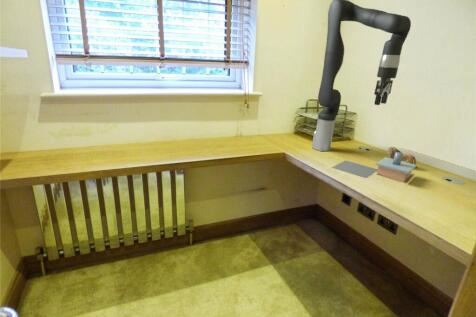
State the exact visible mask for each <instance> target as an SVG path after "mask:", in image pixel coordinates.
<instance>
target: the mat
mask: <svg viewBox="0 0 476 317" xmlns="http://www.w3.org/2000/svg"><path fill="white" fill-rule="evenodd" d="M331 168H332V169H335V170H337V171H340V172H345V173H348V174H351V175H354V176H357V177H361V178H363V179H367V178H369V177H370V176H372V175H374V174H375V173H377V171H378V168H375V167H371V166H368V165H363V164H360V163H357V162H354V161H350V160H343V161H342V162H340V163H338V164H336V165H334V166H332V167H331Z"/></svg>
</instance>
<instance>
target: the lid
mask: <svg viewBox="0 0 476 317" xmlns="http://www.w3.org/2000/svg"><path fill="white" fill-rule="evenodd" d="M402 153H403V152H401V153H399V152H395V156H394V159H391V157H386V156H385V157H383V158H382V159H380V160H379V161H378V162H376V163H375V165H376V166H377V167H378V166H382V167H385V168H389V169H393V170H396V171H400V172H404V173H407V174H408V173H410V172H411V173H412V172H413V170H415V168H416V166H417V164H416V165H415V164H411V163H408V161H407V162H406V161H401V160H402V156H403V154H404V153H403V154H402Z"/></svg>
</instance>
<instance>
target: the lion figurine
mask: <svg viewBox="0 0 476 317" xmlns="http://www.w3.org/2000/svg"><path fill="white" fill-rule="evenodd" d="M395 152H399V153H402V154H403V156H402V160H401V161H403V162H406V161H407V163H411V164H415V165H416V167H415V168H416V169H418V166H417V159H416V157H415V156H414V155H413V154H411V153H410V154H409V153H403V152H401V151H400V149H398V148H396V147H395V146H391V147H390V146H389V147H388V150H387V152H386V153H387V155H388V157H389V158H391V159H394V156H395Z"/></svg>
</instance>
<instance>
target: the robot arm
mask: <svg viewBox="0 0 476 317" xmlns="http://www.w3.org/2000/svg"><path fill="white" fill-rule="evenodd" d="M327 13H328V14H327V33H326V43H325V44H326V45H325V50H324V51H325V52H324V57H323V59H324V61H323V69H322V76H321V81H320V87H319V90H318V96H317V102H318V105H319V106H321V107H322V108H323V109H322V110H321V111H320V112H319V113H318V115H317V122H316V129H315V131H314V132H313V138H312V144H311V145H312V146H311V148H312V149H314V150H315V151H319V152H329V151H330V150H331V147H332V140H333V135H334V130H335V129H334V128H335V123H336V119H337V117H338V114H339V110H340V106H341V101H342V95H341V92H340V91H339V90H338V89H335V88H334V86H335V85H334V84H335V80H336V77H337V75H338V73H339V72H340V70H341V68H342V65H343V63H344V57H345V56H344V55H345V44H344V41H343V38H342V32H341V28H342V22H356V23H359V24H361V25H364V26H366V27H369V28H372V29H377V30H381V31H383V32H386V33H389V34H391V36H390V39H388V40H386V41H385V43H384V44H383V50H382V53H381V58H380V60H379V64H378V69H377V74H376V77H377V78H380V79H379V80H377V81H376V85H375V87H374V88H375V89H374V93H373V94H374V95H375V98H374V105H375V106H379V105H380V106H381V104H383V105H384V104H387V102H388V101H387V100H388V96H389V95H390V94H391V91H392V87H393V82H394V80H392V79H396V77H397V74H398V69H399V65H400V61H401V60H400V59H401V54H402V49H403V45H404V43H405V41H406V40H407V37H408V35H409V33H410V30H411V27H412V26H411V24H412V22H411V19H410V17H409V16H406V15H401V14H398V13H392V12H387V11H384V10H380V9H375V8H366V7H362V6H360V5H357V4H355V3H353V2H352V1H350V0H332V1H331V3H330V5H329V7H328V11H327Z"/></svg>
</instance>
